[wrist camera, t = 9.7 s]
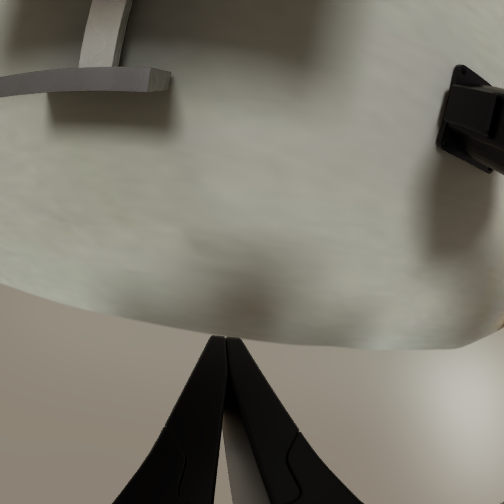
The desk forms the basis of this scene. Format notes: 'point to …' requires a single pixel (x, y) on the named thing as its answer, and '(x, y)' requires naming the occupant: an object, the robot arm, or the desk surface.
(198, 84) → the desk surface
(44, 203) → the desk surface
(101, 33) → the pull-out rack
